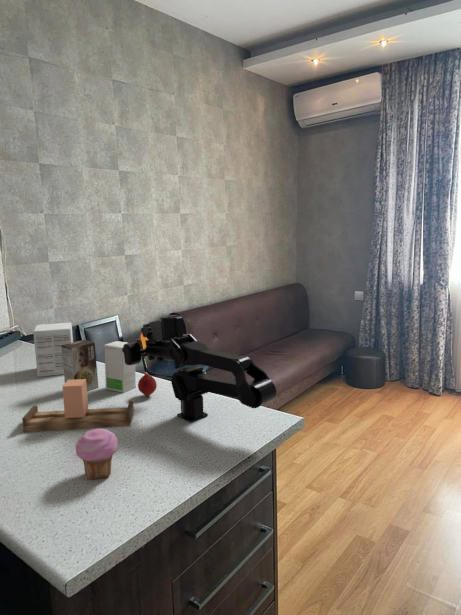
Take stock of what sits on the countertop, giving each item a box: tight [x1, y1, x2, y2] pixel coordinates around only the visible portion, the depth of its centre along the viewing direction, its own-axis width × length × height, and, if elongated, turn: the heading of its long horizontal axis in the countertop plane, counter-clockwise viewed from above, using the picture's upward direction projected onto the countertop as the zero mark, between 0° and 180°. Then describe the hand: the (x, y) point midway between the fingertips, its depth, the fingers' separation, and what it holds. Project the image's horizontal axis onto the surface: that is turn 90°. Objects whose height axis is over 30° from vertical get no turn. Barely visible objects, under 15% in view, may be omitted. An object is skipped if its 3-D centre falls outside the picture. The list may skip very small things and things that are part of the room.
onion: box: [137, 372, 158, 397], centre depth 144 cm, size 6×6×8 cm
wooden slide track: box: [21, 400, 135, 433], centre depth 126 cm, size 28×9×4 cm, turn 95°
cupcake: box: [75, 428, 119, 480], centre depth 98 cm, size 9×9×10 cm
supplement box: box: [32, 322, 74, 378], centre depth 174 cm, size 13×13×18 cm
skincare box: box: [104, 340, 137, 394], centre depth 152 cm, size 8×7×16 cm
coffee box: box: [61, 339, 99, 392], centre depth 152 cm, size 9×6×16 cm
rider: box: [62, 379, 89, 418], centre depth 125 cm, size 5×6×10 cm
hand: (134, 346), depth 142 cm, fingers open, 9 cm apart
